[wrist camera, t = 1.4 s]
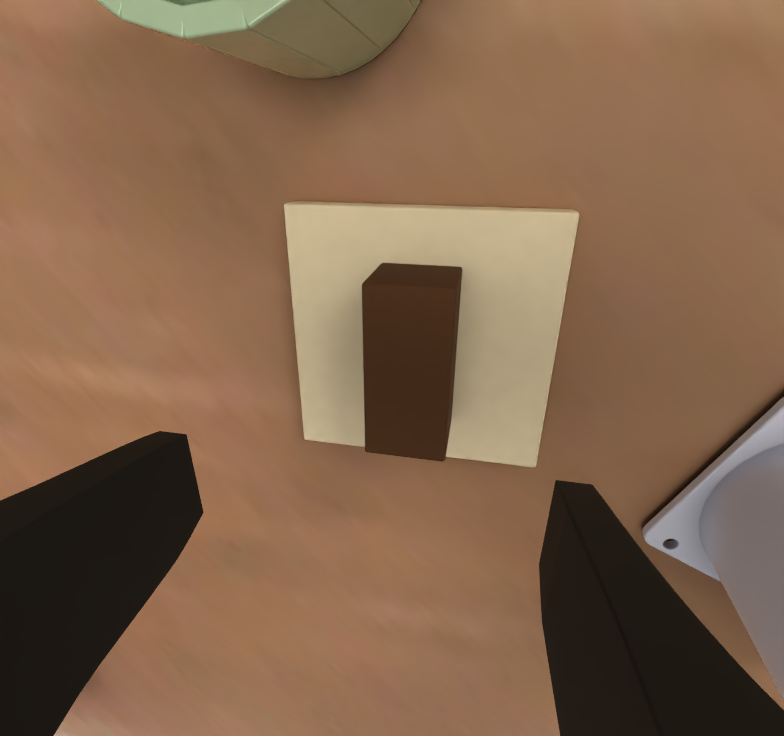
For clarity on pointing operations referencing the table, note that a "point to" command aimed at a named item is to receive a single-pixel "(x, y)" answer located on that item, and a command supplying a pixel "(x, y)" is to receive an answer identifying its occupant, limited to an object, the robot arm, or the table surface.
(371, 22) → the cup
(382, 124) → the table surface
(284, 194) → the table surface
